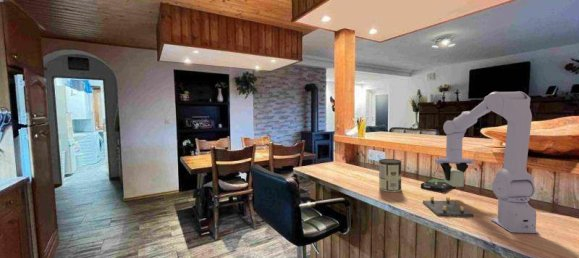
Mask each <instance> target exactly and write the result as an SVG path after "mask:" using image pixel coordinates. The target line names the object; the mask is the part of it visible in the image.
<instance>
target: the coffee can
mask: <svg viewBox="0 0 579 258" xmlns="http://www.w3.org/2000/svg"><path fill="white" fill-rule="evenodd" d="M378 168H379V169H378V175H379V176H378V177H379V178H378V183H379V184H378V185H379V186H378V189H379V190H381V191H384V192H386V193H399V192H401V191H402V160H400V159H397V158H396V159H394V158H381V159H378Z"/></svg>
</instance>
